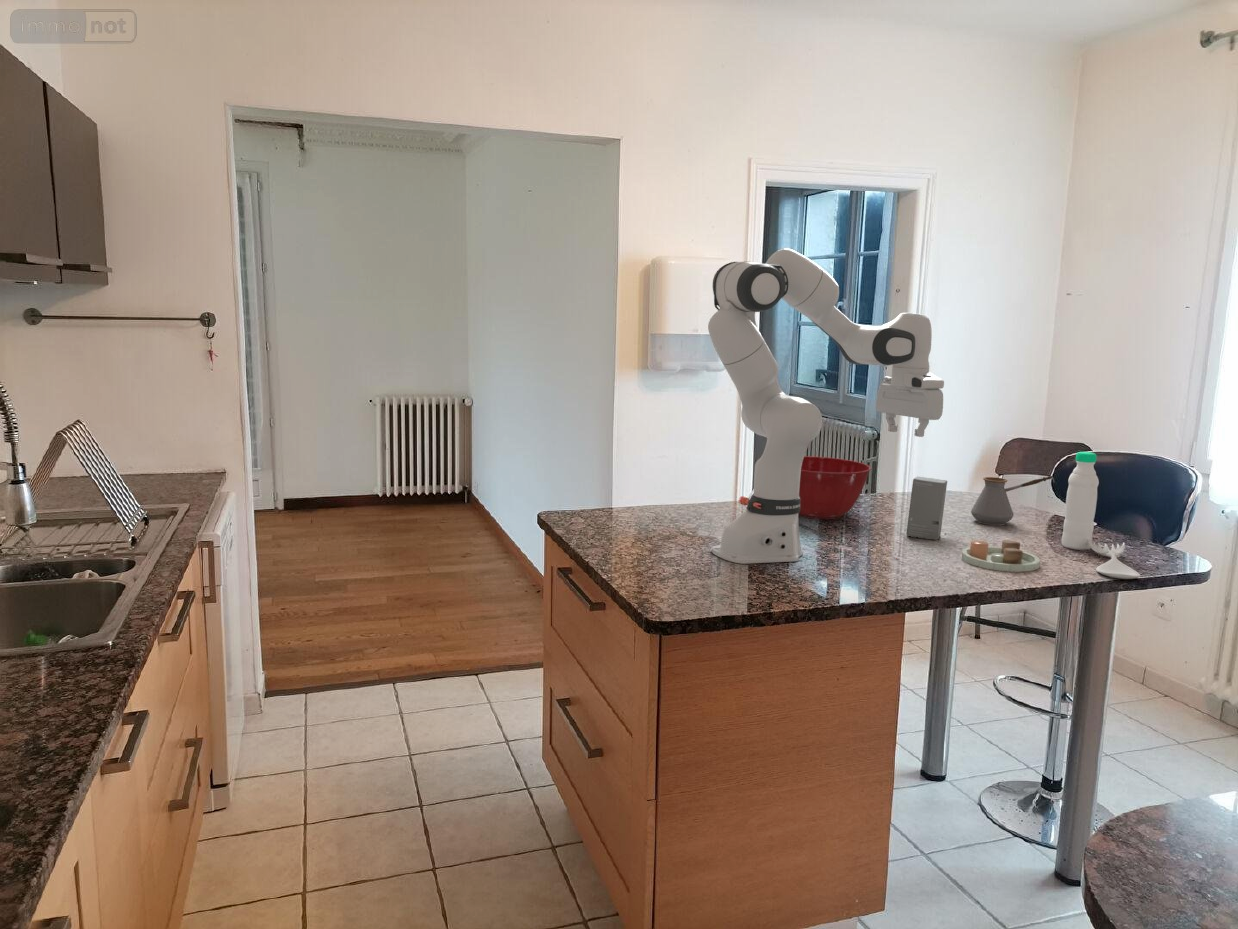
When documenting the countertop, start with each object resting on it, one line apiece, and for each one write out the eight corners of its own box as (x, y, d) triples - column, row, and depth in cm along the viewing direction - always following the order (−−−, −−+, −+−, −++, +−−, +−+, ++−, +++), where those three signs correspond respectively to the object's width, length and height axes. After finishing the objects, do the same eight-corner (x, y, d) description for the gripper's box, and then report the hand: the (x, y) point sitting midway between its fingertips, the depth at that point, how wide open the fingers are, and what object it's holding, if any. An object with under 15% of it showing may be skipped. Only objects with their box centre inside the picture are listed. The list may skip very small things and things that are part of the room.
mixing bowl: (861, 507, 280) (864, 457, 278) (873, 528, 252) (877, 473, 250) (768, 502, 284) (771, 453, 281) (770, 522, 256) (773, 468, 254)
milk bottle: (1088, 545, 239) (1098, 451, 235) (1094, 551, 232) (1105, 455, 228) (1058, 542, 241) (1068, 449, 236) (1064, 549, 234) (1074, 453, 230)
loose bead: (978, 561, 216) (979, 545, 215) (965, 557, 219) (967, 541, 218) (990, 560, 217) (992, 544, 217) (977, 556, 221) (979, 540, 220)
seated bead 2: (1012, 570, 209) (1014, 553, 209) (998, 565, 213) (1000, 549, 212) (1024, 568, 211) (1026, 551, 210) (1010, 563, 215) (1012, 547, 214)
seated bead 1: (1010, 561, 217) (1011, 545, 216) (997, 557, 220) (998, 541, 220) (1022, 559, 219) (1023, 543, 218) (1008, 555, 222) (1010, 539, 221)
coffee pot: (970, 524, 260) (975, 473, 257) (969, 516, 270) (973, 467, 268) (1052, 532, 253) (1058, 479, 250) (1047, 523, 264) (1052, 472, 261)
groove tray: (1001, 578, 206) (1002, 568, 205) (946, 559, 221) (946, 549, 220) (1054, 571, 213) (1055, 561, 212) (997, 553, 228) (997, 543, 227)
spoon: (1124, 554, 230) (1125, 541, 230) (1143, 587, 201) (1145, 572, 200) (1084, 549, 234) (1086, 536, 233) (1097, 582, 204) (1099, 567, 204)
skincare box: (905, 536, 243) (910, 478, 240) (910, 531, 249) (915, 475, 247) (938, 541, 239) (943, 482, 237) (942, 535, 245) (947, 478, 243)
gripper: (871, 376, 233) (868, 429, 236) (929, 382, 215) (925, 439, 217) (890, 375, 236) (887, 428, 238) (949, 381, 218) (944, 438, 220)
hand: (905, 434), depth 228 cm, fingers open, 8 cm apart
